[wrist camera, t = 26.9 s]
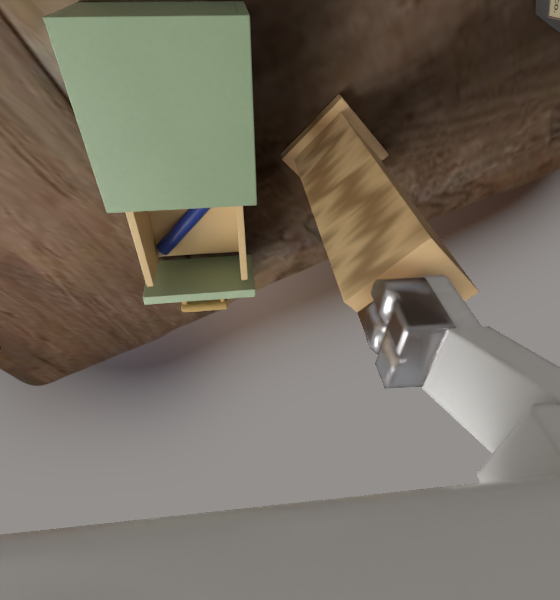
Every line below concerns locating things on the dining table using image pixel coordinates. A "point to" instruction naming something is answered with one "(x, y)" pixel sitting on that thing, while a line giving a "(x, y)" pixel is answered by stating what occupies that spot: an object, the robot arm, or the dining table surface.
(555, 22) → the liquor
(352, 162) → the pen stand
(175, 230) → the pen
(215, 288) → the drawer
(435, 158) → the dining table surface
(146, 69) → the cabinet
